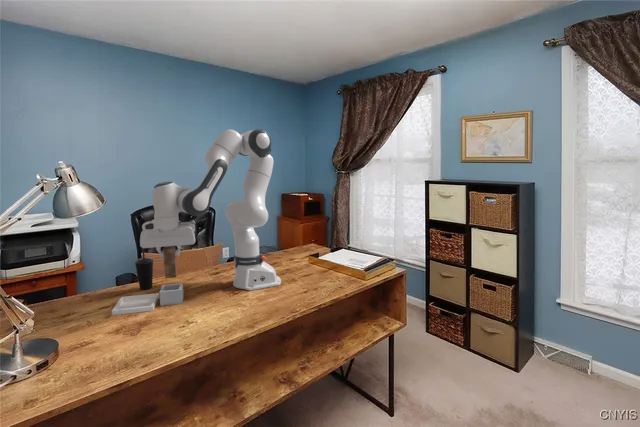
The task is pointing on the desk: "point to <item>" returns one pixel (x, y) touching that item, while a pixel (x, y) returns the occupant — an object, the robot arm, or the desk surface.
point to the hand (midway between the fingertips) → (169, 256)
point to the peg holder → (171, 294)
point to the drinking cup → (144, 272)
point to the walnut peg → (170, 262)
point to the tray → (135, 304)
